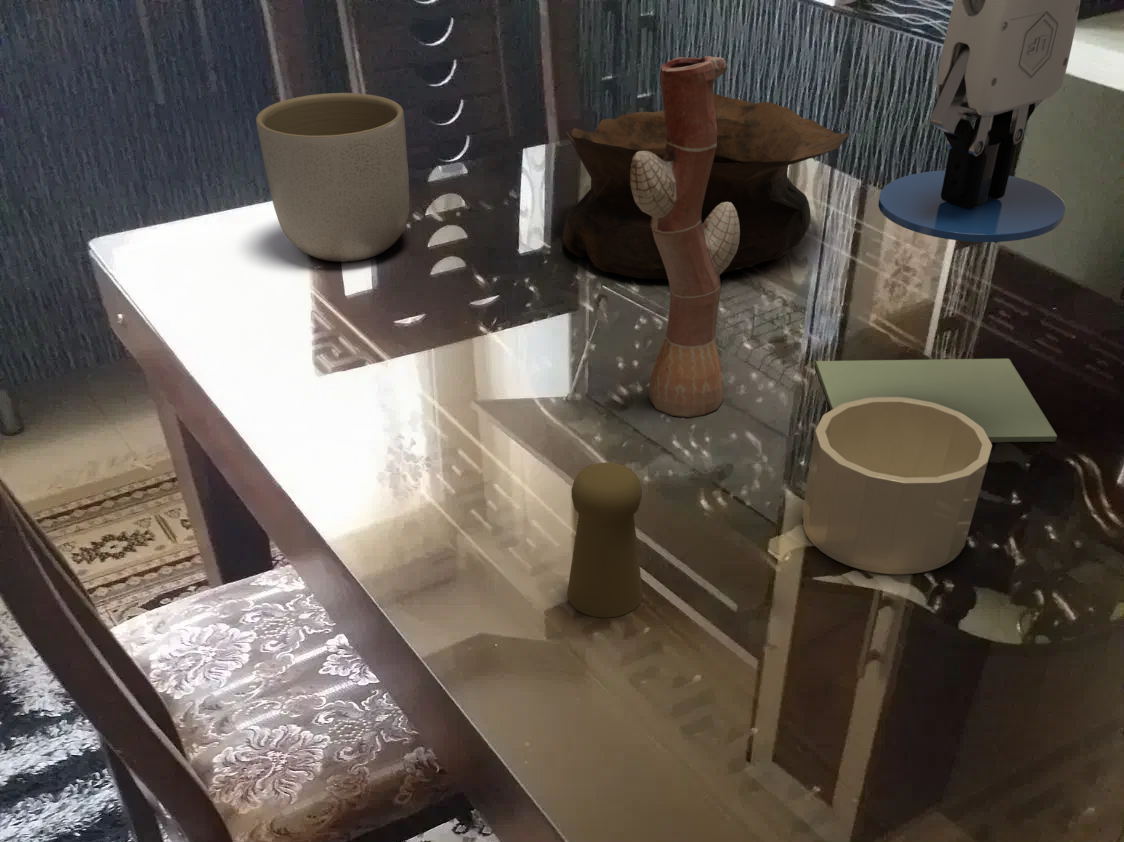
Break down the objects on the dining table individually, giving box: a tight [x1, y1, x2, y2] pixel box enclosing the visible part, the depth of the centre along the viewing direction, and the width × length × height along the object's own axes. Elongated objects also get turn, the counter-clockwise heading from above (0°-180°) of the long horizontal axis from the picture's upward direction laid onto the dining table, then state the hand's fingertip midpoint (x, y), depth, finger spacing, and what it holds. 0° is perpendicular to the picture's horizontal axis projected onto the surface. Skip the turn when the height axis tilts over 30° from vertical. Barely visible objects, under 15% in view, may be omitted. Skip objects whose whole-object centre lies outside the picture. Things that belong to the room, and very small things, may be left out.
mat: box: [814, 358, 1058, 443], centre depth 113 cm, size 20×16×1 cm
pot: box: [801, 397, 993, 575], centre depth 95 cm, size 14×14×8 cm
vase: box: [630, 55, 740, 418], centre depth 104 cm, size 10×7×30 cm
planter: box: [255, 92, 410, 263], centre depth 138 cm, size 17×17×15 cm
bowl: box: [562, 93, 851, 280], centre depth 139 cm, size 34×33×15 cm
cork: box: [566, 461, 644, 619], centre depth 88 cm, size 6×6×11 cm
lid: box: [877, 135, 1066, 243], centre depth 92 cm, size 15×15×6 cm
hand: (972, 196), depth 93 cm, fingers closed on lid, 2 cm apart
